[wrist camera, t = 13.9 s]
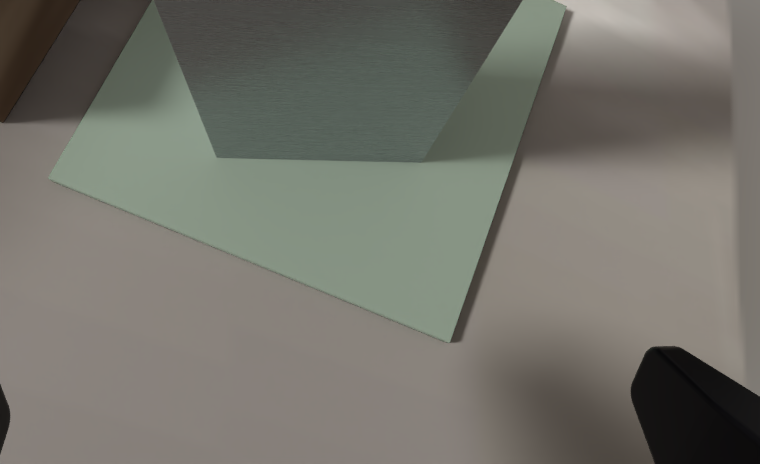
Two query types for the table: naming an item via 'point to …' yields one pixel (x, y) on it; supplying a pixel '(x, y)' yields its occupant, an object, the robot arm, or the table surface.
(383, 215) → the mat
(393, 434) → the table surface
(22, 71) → the brown wooden corner wall
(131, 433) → the table surface
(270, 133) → the gray block
